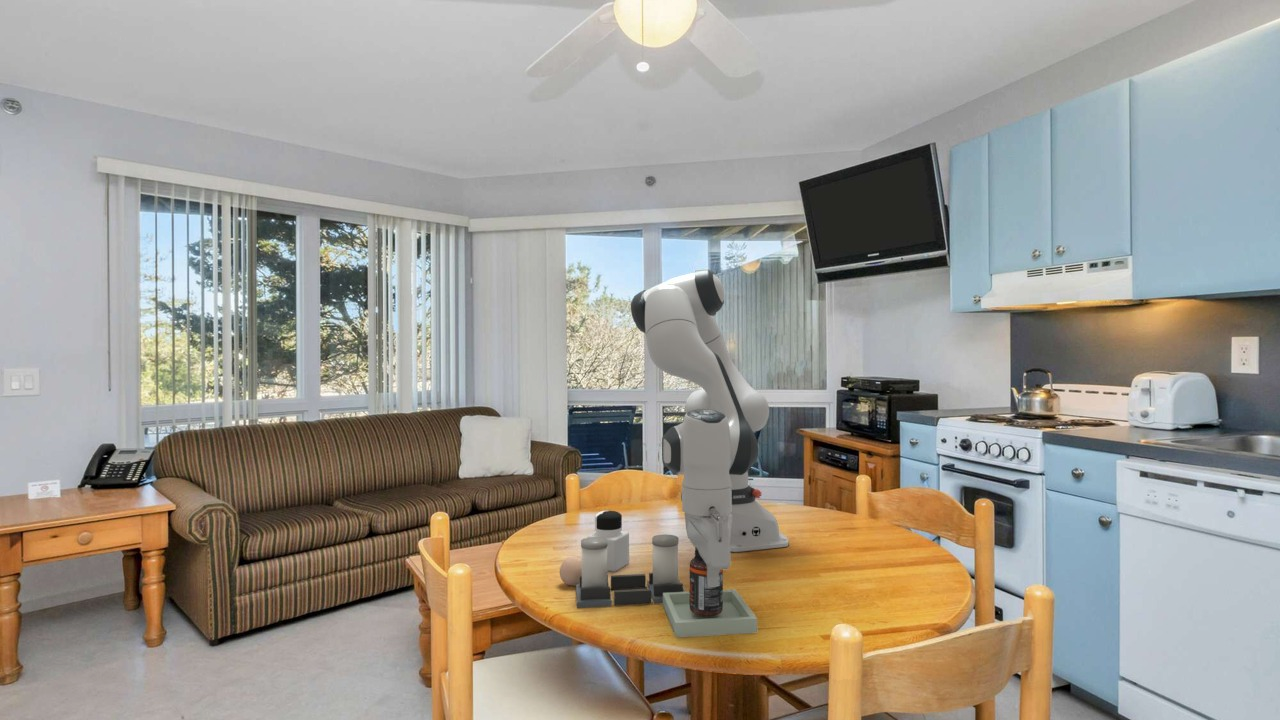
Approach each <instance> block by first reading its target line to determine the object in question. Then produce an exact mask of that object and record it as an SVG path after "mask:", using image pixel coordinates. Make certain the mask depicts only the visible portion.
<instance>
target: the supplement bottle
mask: <svg viewBox="0 0 1280 720" xmlns="http://www.w3.org/2000/svg"><path fill="white" fill-rule="evenodd" d="M706 575H707V567H706V563H705V562H704V560H703V559H702V557H701V556H700V555H699V552H698V549H697V547H694V557H693V558H691V560H690V561H689V576H688V577H689V587H688V588H689V589H688V590H689V591H688V592H689V596H690V597H689V605H690V610H691V611H692V612H693V613H694V614H697V615H700V616H716V615H718V614H720V613H721V612H722V609H723V590H724V569H723V570H720V571H719V575H718V586H717V587H708V585H707V584H706Z"/></svg>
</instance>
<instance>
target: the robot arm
mask: <svg viewBox="0 0 1280 720" xmlns="http://www.w3.org/2000/svg"><path fill="white" fill-rule="evenodd" d="M724 304H725V290H724V286H723V283H722V281H721V280H720V279H719V277H718V276H717V275H716V273H715V272H714V271H712V270H710V269H699V270H695V271H694V272H691V273H686V274H682V275H679V276H675V277H672V278H669V279H668V280H666V281H664V282H661V283H658V284H656V285H654V286H653V287H650V288H648V289H647V290H646V289H644V290H642V291H641V290H640V292H638V293H637V294H635V295H634V296H633V298H632V300H631V302H630V313H631V318H632V320H633V322H634V324H635V325H636V328H637V329H638V330H639V331H640V332H641V333H644V334H645V339H646V340H645V341H646V345H647V350H648V354H649V357H650V359H651V361H652V363H653V364H654V365H655V366H656V367H657V368H659V370H661V371H662V372H664V373H666V374H668V375H670V376H673V377H677V378H679V379H684V380H687V381H689V382H691V383H694V384H696V385H698V386H700V387H701V389H700V388H699V389H698V390H694V391H692V392H691V393H690V394H689V396H688V397H687V399H686V403H685V414H684V418H683V422H681V423H679V424H677V425H675V426H671V427H670V428H669V429H667V431H666V432H665V433H664V434H663V436H662V437H661V459H662V464H663V465H664V466H665V467H666V468H667V469H668V470H669V471H670V472H671V473H673V474H676V475H681V476H683V478H682V483H681V493H680V499H681V511H682V512H683V513H684V522H685V530H686V531H685V532H686V536H687V539H688V541H690V543H691V545H692V546H693V547H694V548H695V547H697V549H698V552H699V555H700V556H701V557H702V559H703V560H704V562H705V563H706V567H707V575H706V584H707V585H708V587H717V586H718V575H719V571H720V570H723V571H724V570H729V568H730V566H731V563H732V562H731V559H732V558H731V552H732V553H733V552H734V553H738V552H739V553H742V552H749V551H758V550H767V549H769V550H770V549H775V548H776V549H778V548H785V547H786V548H787V547H788V546H789V539H788V537H787V536H786V535H785V534H784V533H782V532H780V529H779V528H780V527H779V523H778V520H777V518H776V517H775V516H774V514H773V513H771V512H770V511H769V510H768V509H767V508H765V507H764V506H763V505H762V504H760V503H759V502H758V501H756V499H761V497H762V495H763V494H762V491H761V490H759V489H758V488H754V487H752V486H750V485H749V470H750V469H751V468H752V467H753V466H754V465H755V463H756V462H757V460H758V456H759V444H758V441H757V437H756V434H755V432H759V431H760V430H762V429H763V428H765V426H766V425H767V423H768V420H769V417H770V408H769V407H770V406H769V402H768V401H767V399H766V397H765V396H764V395H763V394H761V393H760V392H758V391H757V390H755V389H754V387H752V386H751V385H750V383H748V381H746V379H745V377H744V376H742V374H741V372H740V371H739V370H738V368H737V367H736V365H735V364H734V362H733V361H732V359H731V356H730V354H729V350H728V348H727V345H726V344H725V341H724V338H723V335H722V333H721V330H720V327H719V325H718V323H717V320H716V319H715V316H716V315H717V313H718V312H719V311H721V309H722V307H723V306H724Z"/></svg>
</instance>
